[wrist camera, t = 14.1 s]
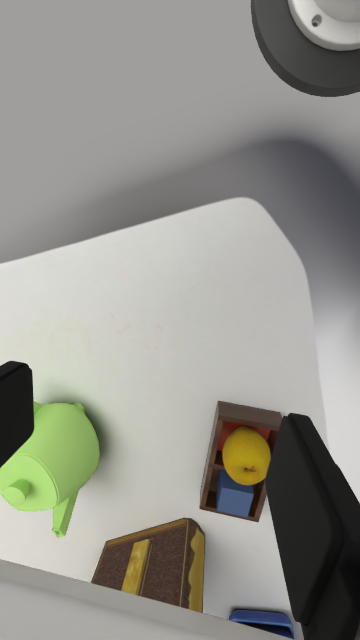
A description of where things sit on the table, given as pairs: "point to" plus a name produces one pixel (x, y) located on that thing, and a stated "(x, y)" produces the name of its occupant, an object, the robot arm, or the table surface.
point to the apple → (246, 456)
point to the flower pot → (264, 621)
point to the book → (157, 564)
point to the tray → (223, 426)
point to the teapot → (52, 463)
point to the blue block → (233, 495)
